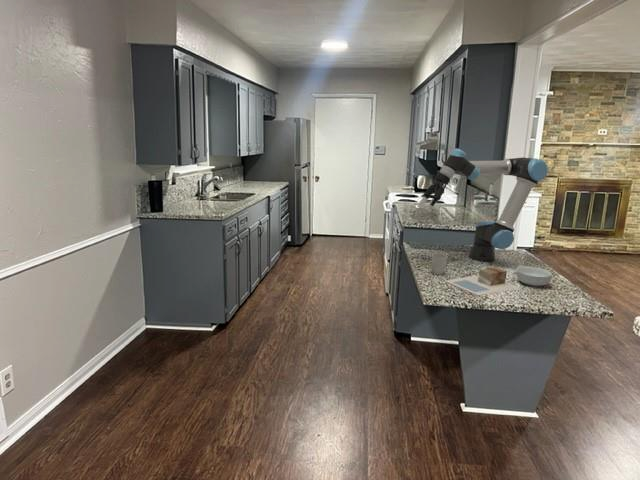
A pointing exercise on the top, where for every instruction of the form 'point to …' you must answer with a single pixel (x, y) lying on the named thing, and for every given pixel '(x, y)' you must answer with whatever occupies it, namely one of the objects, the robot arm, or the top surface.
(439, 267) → the cup
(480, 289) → the mat
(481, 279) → the block
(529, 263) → the top surface
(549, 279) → the cereal bowl
